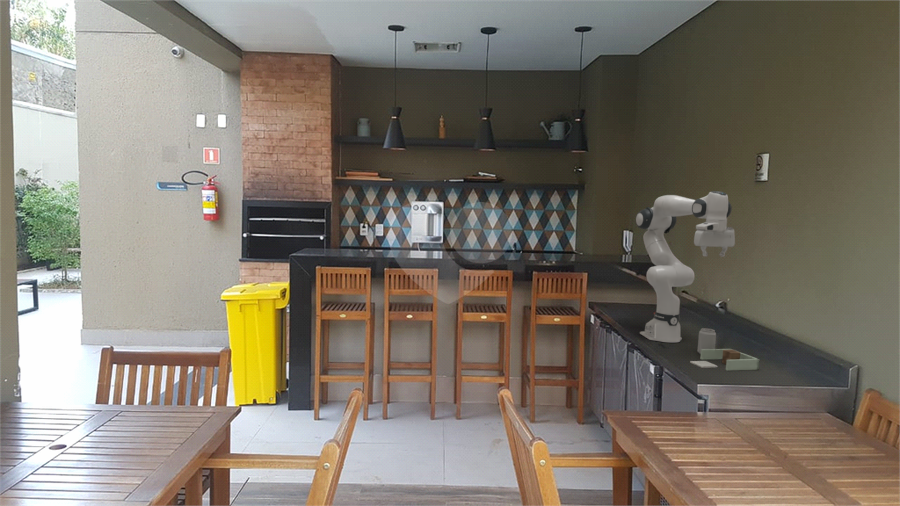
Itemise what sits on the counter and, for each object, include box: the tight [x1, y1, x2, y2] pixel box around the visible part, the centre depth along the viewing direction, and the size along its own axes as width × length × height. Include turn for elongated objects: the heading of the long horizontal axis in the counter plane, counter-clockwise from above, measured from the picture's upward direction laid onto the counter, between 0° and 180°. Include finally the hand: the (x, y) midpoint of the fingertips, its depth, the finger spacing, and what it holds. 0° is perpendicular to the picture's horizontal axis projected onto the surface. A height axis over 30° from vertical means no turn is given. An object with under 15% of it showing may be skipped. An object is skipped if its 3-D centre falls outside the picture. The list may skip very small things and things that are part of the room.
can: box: [696, 327, 717, 355], centre depth 279 cm, size 8×8×12 cm
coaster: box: [689, 360, 718, 369], centre depth 260 cm, size 8×8×1 cm
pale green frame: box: [699, 348, 760, 372], centre depth 263 cm, size 18×16×4 cm
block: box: [721, 349, 740, 365], centre depth 263 cm, size 5×5×6 cm
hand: (713, 256), depth 272 cm, fingers open, 8 cm apart
